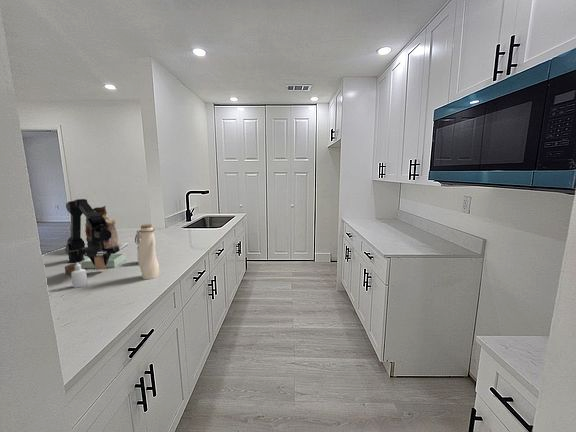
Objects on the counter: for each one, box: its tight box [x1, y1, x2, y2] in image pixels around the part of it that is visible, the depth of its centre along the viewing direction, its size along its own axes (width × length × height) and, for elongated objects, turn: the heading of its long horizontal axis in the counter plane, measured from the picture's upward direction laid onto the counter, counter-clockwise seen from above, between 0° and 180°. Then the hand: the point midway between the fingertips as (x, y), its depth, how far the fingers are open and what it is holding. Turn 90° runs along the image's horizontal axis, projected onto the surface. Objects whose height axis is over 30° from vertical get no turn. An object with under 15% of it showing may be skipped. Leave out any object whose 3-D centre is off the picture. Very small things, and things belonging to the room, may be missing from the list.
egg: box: [94, 254, 107, 271], centre depth 148 cm, size 5×5×7 cm
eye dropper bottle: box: [70, 262, 88, 289], centre depth 130 cm, size 4×6×12 cm
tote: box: [80, 253, 126, 270], centre depth 162 cm, size 18×14×4 cm
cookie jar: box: [84, 205, 129, 255], centre depth 191 cm, size 25×25×32 cm
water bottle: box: [134, 223, 160, 280], centre depth 140 cm, size 10×9×28 cm
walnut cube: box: [64, 262, 82, 276], centre depth 147 cm, size 5×5×5 cm
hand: (100, 265), depth 148 cm, fingers closed on egg, 5 cm apart
